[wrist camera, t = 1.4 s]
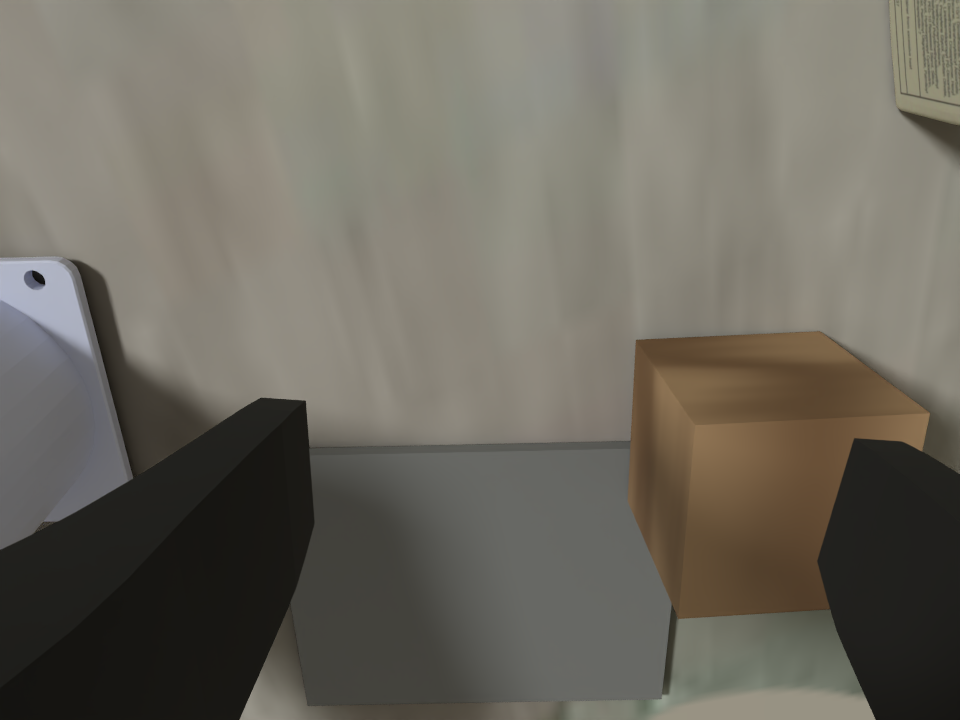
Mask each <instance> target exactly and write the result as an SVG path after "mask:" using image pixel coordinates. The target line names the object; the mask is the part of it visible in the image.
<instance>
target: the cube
mask: <svg viewBox="0 0 960 720" xmlns="http://www.w3.org/2000/svg"><path fill="white" fill-rule="evenodd" d="M929 416H930V413H929V412H928V411H927V410H925V409H924V408H923V407H921V406H920V405H918V404H917V403H916V402H914V401H913V400H912V399H910V398H909V397H908V396H906V395H905V394H904V393H902V392H901V391H900V390H898V389H897V388H896V387H894V386H893V385H892V384H890V383H889V382H888V381H886V380H885V379H883V378H882V377H881V376H879V375H878V374H877V373H875V372H874V371H873V370H871V369H870V368H869V367H867V366H866V365H865V364H863V363H862V362H861V361H859V360H858V359H857V358H855V357H854V356H852V355H851V354H850V353H848V352H847V351H846V350H844V349H843V348H842V347H840V346H839V345H838V344H836V343H835V342H834V341H832V340H831V339H830V338H828V337H827V336H826V335H824V334H823V333H822V332H820V331H817V332H796V333H774V334H753V335H731V336H710V337H688V338H667V339H645V340H636V350H635V369H634V388H633V407H632V426H631V445H630V464H629V483H628V503H629V506H630V508H631V510H632V513H633V515H634V517H635V520H636V522H637V524H638V527H639V529H640V531H641V533H642V536H643V538H644V540H645V543H646V545H647V547H648V550H649V552H650V554H651V557H652V559H653V561H654V564H655V566H656V568H657V571H658V573H659V575H660V578H661V580H662V582H663V585H664V587H665V589H666V592H667V594H668V596H669V598H670V601H671V603H672V605H673V608H674V610H675V612H676V615H677V617H678V619H683V618H699V617H715V616H731V615H746V614H762V613H778V612H794V611H810V610H826V609H830V607H829V603H828V600H827V596H826V593H825V589H824V585H823V581H822V578H821V574H820V570H819V566H818V563H817V560H818V556H819V553H820V550H821V546H822V543H823V540H824V536H825V533H826V530H827V526H828V523H829V520H830V516H831V513H832V510H833V506H834V503H835V500H836V497H837V493H838V490H839V487H840V483H841V480H842V477H843V473H844V470H845V467H846V463H847V460H848V457H849V453H850V450H851V447H852V443H853V440H854V438H860V439H874V440H889V441H902V442H905V443H907V444H909V445H910V446H912V447H914V448H916V449H918V450H920V451H922V449H923V445H924V440H925V435H926V430H927V426H928V421H929Z"/></svg>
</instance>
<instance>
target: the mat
mask: <svg viewBox="0 0 960 720" xmlns="http://www.w3.org/2000/svg"><path fill="white" fill-rule="evenodd" d="M630 445H631V441H617V442H571V443H524V444H478V445H431V446H384V447H338V448H309V452H310V466H311V480H312V493H313V507H314V520H315V524H314V528H313V531H312V535H311V539H310V542H309V546H308V550H307V553H306V557H305V561H304V564H303V567H302V571H301V574H300V577H299V581H298V584H297V587H296V590H295V592H294V595H293V597H292V600H291V602H290V604H291V610H292V616H293V622H294V628H295V634H296V639H297V645H298V651H299V657H300V663H301V669H302V675H303V681H304V687H305V693H306V698H307V704H308V706H319V705H374V704H429V703H483V702H538V701H593V700H648V699H662V689H663V680H664V671H665V661H666V652H667V643H668V633H669V624H670V614H671V605H672V603H671V601H670V598H669V596H668V594H667V592H666V589H665V587H664V585H663V582H662V580H661V578H660V575H659V573H658V571H657V568H656V566H655V564H654V561H653V559H652V557H651V554H650V552H649V550H648V547H647V545H646V543H645V540H644V538H643V536H642V533H641V531H640V529H639V527H638V524H637V522H636V520H635V517H634V515H633V513H632V510H631V508H630V506H629V503H628V483H629V464H630Z"/></svg>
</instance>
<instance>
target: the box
mask: <svg viewBox="0 0 960 720" xmlns="http://www.w3.org/2000/svg"><path fill="white" fill-rule="evenodd" d="M889 11H890V31H891V48H892V60H893V71H894V83H895V97H896V105H897V108H898V109H900V110H902V111H905V112H908V113H912V114H916V115H920V116H924V117H927V118H931V119H935V120H938V121H943V122H947V123H950V124H954V125H959V126H960V0H889Z"/></svg>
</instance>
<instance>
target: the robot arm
mask: <svg viewBox="0 0 960 720" xmlns="http://www.w3.org/2000/svg"><path fill="white" fill-rule="evenodd" d="M32 270H33V271H37V272H39V273H40V274H42V275H43V277H44V279H45V285H43V284H39V283H38V282H37V281H35V280H34V278H33V276H32ZM55 521H58V522H56V523H54V524H52V525H50V526H48V527H46V528H44V529H42V530H40V531H38V532H36V533H34V532H35V531H36V530H37V528H38V527H39V526H40V525H41V524H42V522H55ZM314 524H315V520H314V507H313V493H312V480H311V466H310V452H309V439H308V425H307V412H306V401H301V400H286V399H272V398H260V399H258V400H256V401H254V402H253V403H251V404H249V405H247V406H246V407H244V408H243V409H241V410H239V411H238V412H236V413H235V414H233V415H232V416H230V417H229V418H227V419H225V420H224V421H222V422H221V423H219V424H218V425H216V426H215V427H213V428H212V429H210V430H209V431H207V432H206V433H204V434H203V435H201V436H200V437H198V438H197V439H195V440H194V441H192V442H190V443H189V444H187V445H186V446H184V447H183V448H181V449H180V450H178V451H176V452H175V453H173V454H172V455H170V456H169V457H167V458H166V459H164V460H163V461H161V462H159V463H158V464H156V465H155V466H153V467H152V468H150V469H148V470H147V471H145V472H143V473H142V474H140V475H138V476H137V477H135V478H133V475H132V471H131V468H130V464H129V460H128V456H127V452H126V448H125V445H124V441H123V437H122V433H121V429H120V425H119V421H118V418H117V414H116V410H115V406H114V402H113V398H112V395H111V391H110V387H109V383H108V379H107V375H106V371H105V368H104V364H103V360H102V356H101V352H100V348H99V345H98V341H97V337H96V333H95V329H94V325H93V321H92V318H91V314H90V310H89V306H88V302H87V298H86V295H85V291H84V287H83V283H82V279H81V275H80V273H79V271H78V269H77V267H76V266H75V265H74V264H73V263H72V262H71V261H69V260H67V259H65V258H62V257H16V258H0V720H239V719H240V717H241V715H242V712H243V710H244V708H245V705H246V703H247V701H248V699H249V696H250V694H251V692H252V690H253V687H254V685H255V683H256V680H257V678H258V676H259V674H260V671H261V669H262V667H263V664H264V662H265V660H266V658H267V655H268V653H269V651H270V648H271V646H272V644H273V642H274V639H275V637H276V635H277V632H278V630H279V628H280V625H281V623H282V621H283V618H284V616H285V614H286V611H287V609H288V607H289V604H290V602H291V600H292V597H293V595H294V592H295V590H296V587H297V584H298V581H299V577H300V574H301V571H302V567H303V564H304V561H305V557H306V553H307V550H308V546H309V542H310V539H311V535H312V531H313V528H314ZM33 533H34V534H33ZM817 563H818V566H819V570H820V574H821V578H822V581H823V585H824V589H825V593H826V596H827V600H828V603H829V607H830V610H831V613H832V617H833V620H834V623H835V626H836V630H837V632H838V635H839V637H840V640H841V642H842V644H843V647H844V649H845V651H846V654H847V656H848V658H849V660H850V663H851V665H852V667H853V670H854V672H855V674H856V676H857V679H858V681H859V683H860V686H861V688H862V690H863V692H864V695H865V697H866V699H867V701H868V703H869V706H870V708H871V710H872V712H873V714H874V717H875V719H876V720H960V474H958V473H957V472H955V471H953V470H952V469H950V468H949V467H947V466H945V465H944V464H942V463H941V462H939V461H937V460H936V459H934V458H932V457H930V456H929V455H927V454H925V453H924V452H922V451H920V450H918V449H916V448H914V447H912V446H910V445H909V444H907V443H905V442H902V441H889V440H874V439H860V438H854V440H853V443H852V447H851V450H850V453H849V457H848V460H847V463H846V467H845V470H844V473H843V477H842V480H841V483H840V487H839V490H838V493H837V497H836V500H835V503H834V506H833V510H832V513H831V516H830V520H829V523H828V526H827V530H826V533H825V536H824V540H823V543H822V546H821V550H820V553H819V556H818V560H817Z"/></svg>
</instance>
